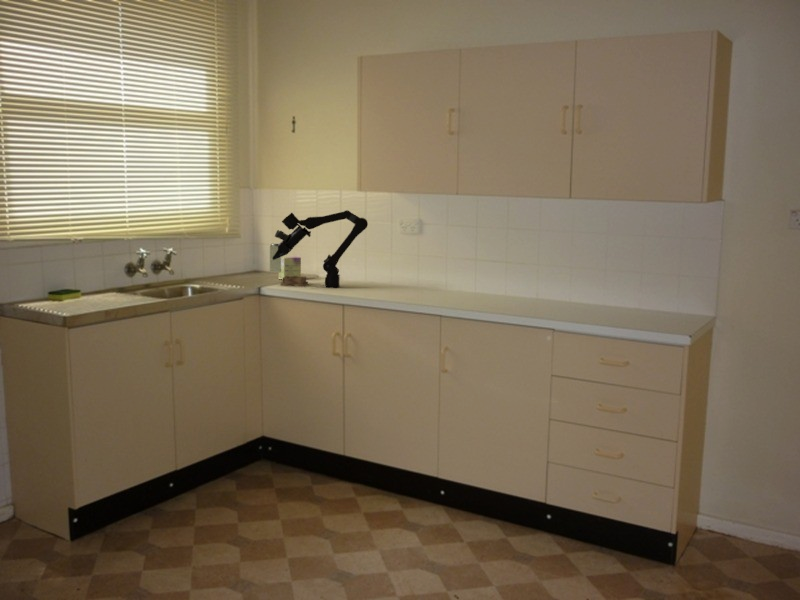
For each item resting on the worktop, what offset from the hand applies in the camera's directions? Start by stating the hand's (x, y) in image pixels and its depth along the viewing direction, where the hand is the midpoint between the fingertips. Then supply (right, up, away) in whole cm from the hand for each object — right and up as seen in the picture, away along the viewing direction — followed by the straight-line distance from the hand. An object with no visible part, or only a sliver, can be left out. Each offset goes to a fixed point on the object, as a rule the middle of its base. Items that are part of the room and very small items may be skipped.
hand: (273, 258), depth 396 cm
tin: (+1, -7, +1) cm, 7 cm away
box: (+4, -10, +27) cm, 29 cm away
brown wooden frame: (+9, -13, +8) cm, 18 cm away
